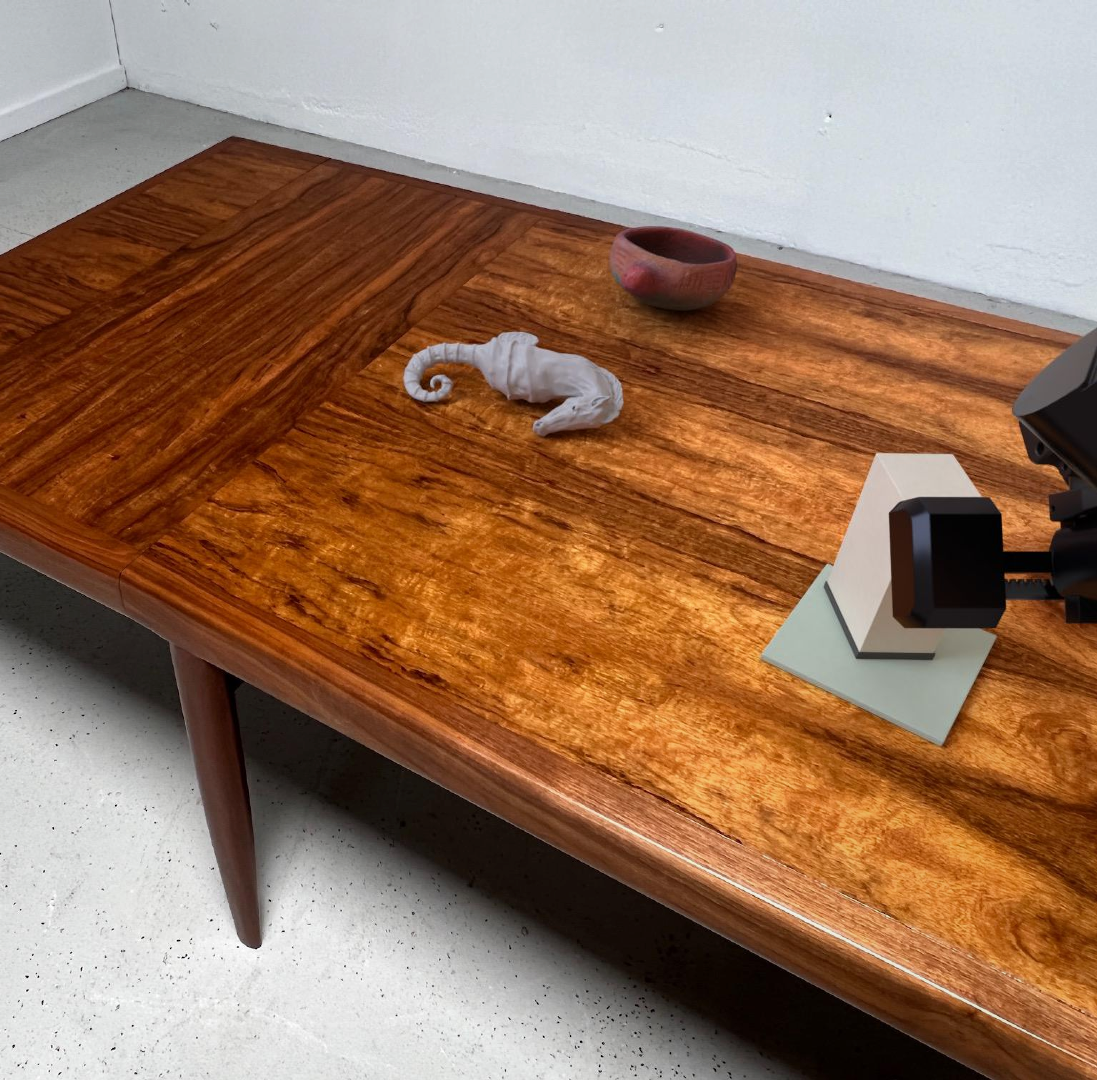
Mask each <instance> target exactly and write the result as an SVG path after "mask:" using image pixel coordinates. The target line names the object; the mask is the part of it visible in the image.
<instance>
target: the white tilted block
mask: <svg viewBox="0 0 1097 1080" xmlns="http://www.w3.org/2000/svg"><path fill="white" fill-rule="evenodd" d="M916 497H983V496H982V495H981V493H980V492H979V490H978V489H977V487H976V486H975V485H974V483H973V481H972V480H971V479H970V477H969V476H968V474H967V473H966V471H965V470H964V468H963V467H962V466H961V464H960V463H959V461H958V460H957V458H956V457H955V455H954V454H953V453H896V452H895V453H893V452H888V453H887V452H876V453H875V455H874V458H873V461H872V463H871V466H870V468H869V471H868V474H867V477H866V479H865V482H864V484H863V486H862V490H861V492H860V495H859V498H858V500H857V503H856V505H855V508H854V511H853V513H852V516H851V517H850V518H851V519H850V521H849V525H848V526H847V530H846V531H845V534H844V537H843V539H842V543H841V545H840V548H839V551H838V553H837V555H836V558H835V560H834V563H833V565H832V566H833V568H832V571H831V574H830V576H829V579H828V581H825V584H824V589H825V591H826V594H827V596H828V598H829V600H830V602H831V605H832V607H833V609H834V611H835V614H836V616H837V618H838V620H839V622H840V625H841V627H842V629H843V631H844V633H845V636H846V638H847V640H848V642H849V645H850V647H851V649H852V651H853V653H854V656H855V658H856V659H900V660H933V658H934V656H935V652H934V651H935V649H936V647H937V645H938V643H939V641H940V639H941V637H942V635H943V633H944V631H945V629H946V628H904V627H903V626H902V625H901V624H900V623H899V622H898V621H897V620H896V619H894V618H893V611H892V586H891V560H890V535H889V512H890V511H891V510H892V509H893V508H894V507H895V506H896V505H897V504H898V503H899V502H900V501H904V500H908V499H912V498H916Z"/></svg>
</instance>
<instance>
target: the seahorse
mask: <svg viewBox="0 0 1097 1080" xmlns="http://www.w3.org/2000/svg"><path fill="white" fill-rule="evenodd" d="M539 341H540V340H539V338H538V336H536V335H534V334H531V333H529V332H524V331H507V332H502V333H500V334H498V335H497V337H495V336H494V337H492V338H491V339H490V341H488V342H486V343H483V344H477V343H473V344H465V343H461V342H459V341H458V342H456V343H447V342H445V341H444V342H442V343H439V344H435V345H432V346H430V345H427V347H426V348H425V349H422V350H420V351H419V352H418V353H413V355H412V357H411V358H410V360H409V362H408V363H407V366H406V367H405V368H404V374H403V377H402V378H403V379H402V380H403V384H404V387H405V390H406V392H407V393H408V394H409V395H410V396H411V397H412V399H414V400H418V401H420V402H423V403H429V402H435V403H438V402H439V401H441V400H442V399H445V398H448V397H449V395H450V393H451V391H452V388H453V387H454V382H453V381H452V380H451V379H450V378H449V377H447V376H446V374H437V375H434V376H433V377H432V378H431V379H430V382H429V383H430V388H431V389H435V384H436V383H439V382H440V383H441V388H439V389H438V390H437V391H435V390H433V391H430V392H429V391H428V390H427V389H423V388H422V386H421V382H420V381H422V380H423V375H424V374H426V372H427V370H428V369H429V368H434V367H435V366H436V365H439V364H444V365H448V364H455V365H461V364H466V365H469V366H471V367H472V368H473V369H477V370H479V371H480V372H481V373H482V375H483V377H484V379H485V381H486V382H487V384H488V385H489V386H490V388H491V389H492V390H493V391H499V392H501V393H502V394H503V395H504V396H506V398H507V401H509V402H510V401H512V400H525V401H527V402H529V403H531V404H532V403H533V404H534V403H541V404H544V403H547V402H549V401H551V400H554V399H562V400H563V399H564V402H563V403H562V404H560V405H558V406H556V407H555V408H554V409H552V410H551V411H549V413H547V414H545V415H543V416H542V417H540V418H539V419H537V420H535V421H533V425H532V431H533V433H535V434H536V435H538V436H539V437H546V436H547V435H548V434H553V433H558V432H562V431H576V430H585V429H599V428H601V426H603V425H606V424H610V423H612V422H613V420H616V419H617V418H618V417H619V416H620V413H621V412H620V411H622V410H623V406H624V393H623V392H624V390H623V389H624V388H623V387H622V385H623V384H622V382H620V380H619V379H618V378H617V377H616V375H615V374H614V373H612V372H610V371H609V370H608V369H606V368H604V367H601V366H599V365H597V364H596V363H594V362H593V361H591V360H589V359H588V358H587V357H584V356H582V355H578V354H573V353H561V352H556V351H553V350H550V349H545V348H540V347H538V346H537V344H538V343H539Z"/></svg>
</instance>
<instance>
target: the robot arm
mask: <svg viewBox="0 0 1097 1080" xmlns="http://www.w3.org/2000/svg"><path fill="white" fill-rule="evenodd" d="M1011 414H1012V415H1013V416H1014V417H1015V418H1016V419H1017V420H1018V426H1019V431H1020V434H1021V437H1022V440H1023V443H1024V447H1025V451H1026V454H1027V457H1028V460H1029V461H1030V463H1032V464H1034V465H1037V466H1052V467H1054V468H1056V469H1057V471H1058V473H1059V475H1060V476H1061V477H1062V479H1063V482H1064V483H1065V484H1066V485H1067V487H1068V488H1069V489H1068V490H1065V491H1059V492H1055V493H1051V494H1048V509H1049V510H1048V511H1049V520H1050V522H1052V523H1059V524H1060V525H1059V526H1060V528H1058V529H1056V530H1055V531H1054V533H1053V536H1052V538H1051V541H1050V543H1049V544H1050V545H1049V549H1048V550H1047V551H1046V550H1044V551H1043V550H1035V551H1034V550H1009V551H1008V550H1006V551H1005V550H1004V532H1003V514H1002V512H1001V511H1000V510H999V508H998V506H997V505H996V503H995V502H994V501H993V499H991V497H990V496H982V497H916V498H912V499H908V500H904V501H900V502H899V503H898V504H897V505H896V506H895V507H894V508H893V509H892V510H891V511H890V512H889V535H890V560H891V586H892V611H893V618H894V619H896V620H897V621H898V622H899V623H900V624H901V625H902V626H903V627H904V628H970V629H982V630H984V629H997V627H998V625H999V623H1000V621H1001V619H1002V617H1003V616H1004V614H1005V612H1006V610H1007V601H1063V602H1064V604H1063V605H1064V620H1065V622H1064V623H1065V624H1068V625H1070V624H1071V625H1072V624H1073V625H1075V624H1076V625H1079V624H1082V625H1083V624H1085V625H1089V624H1090V625H1091V624H1092V625H1095V624H1096V625H1097V327H1095V328H1093V329H1092V330H1090V332H1087V333H1085V335H1083V336H1082V337H1081V338H1079V339H1078V340H1077V341H1074V342H1073V343H1072V344H1071V345H1069V346H1068V347H1067V348H1066V349H1065V350H1063V351H1062V352H1061V353H1059V355H1057V356H1056V357H1055V358H1054V359H1053V360H1051V362H1049V364H1047V365H1046V366H1045V367H1043V369H1041V371H1040V372H1039V373H1038V374H1037V375H1036V376H1035V377H1034V378H1032V379H1031V381H1030V382H1029V383H1028V384H1027V385H1026V386H1025V387H1024V389H1023V390H1022V391H1021V392H1020V394H1019V395H1018V397H1016V399H1015V401H1014V403H1013V404H1012V407H1011ZM1006 575H1050V578H1051V579H1050V578H1043V579H1042V578H1034V579H1033V578H1026V579H1025V578H1017V579H1016V578H1006Z"/></svg>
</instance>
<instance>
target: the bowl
mask: <svg viewBox="0 0 1097 1080" xmlns="http://www.w3.org/2000/svg"><path fill="white" fill-rule="evenodd" d="M609 267H610V272H611V275H612V277H613V278H614V280H615V282H616V283H617V284H618V285H619V286H620V287H621V289H623V290H624V291H625V292H626V293H627V294H629V295H631V296H632V297H633V298H635V299H636V300H638V301H640V302H642V303H643V304H645V305H648V306H651V307H655V308H659V309H664V310H669V311H670V310H672V311H694V310H698V309H699V310H700V309H704V308H707V307H709V306H711V305H713V304H715V303H717V302H718V301H720V300H721V299H722V298H723V297H724V296H725V295H726V294H727V293H728V292H729V290H730V289H731V287H732V285H733V283H734V281H735V278H736V275H737V269H738V262H737V254H736V252H735V250H734V248H733V247H732V246H730V245H729V244H727V243H725V242H723V241H720V240H718V239H716V238H713V237H710V236H706V235H704V234H700V233H697V232H694V231H692V230H687V229H685V228H680V227H672V226H665V225H645V226H636V227H631V228H627V229H624V230H622V231H620V232H619V233H617V234H616V235H615V237H614V239H613V242H612V244H611V249H610V253H609Z"/></svg>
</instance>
